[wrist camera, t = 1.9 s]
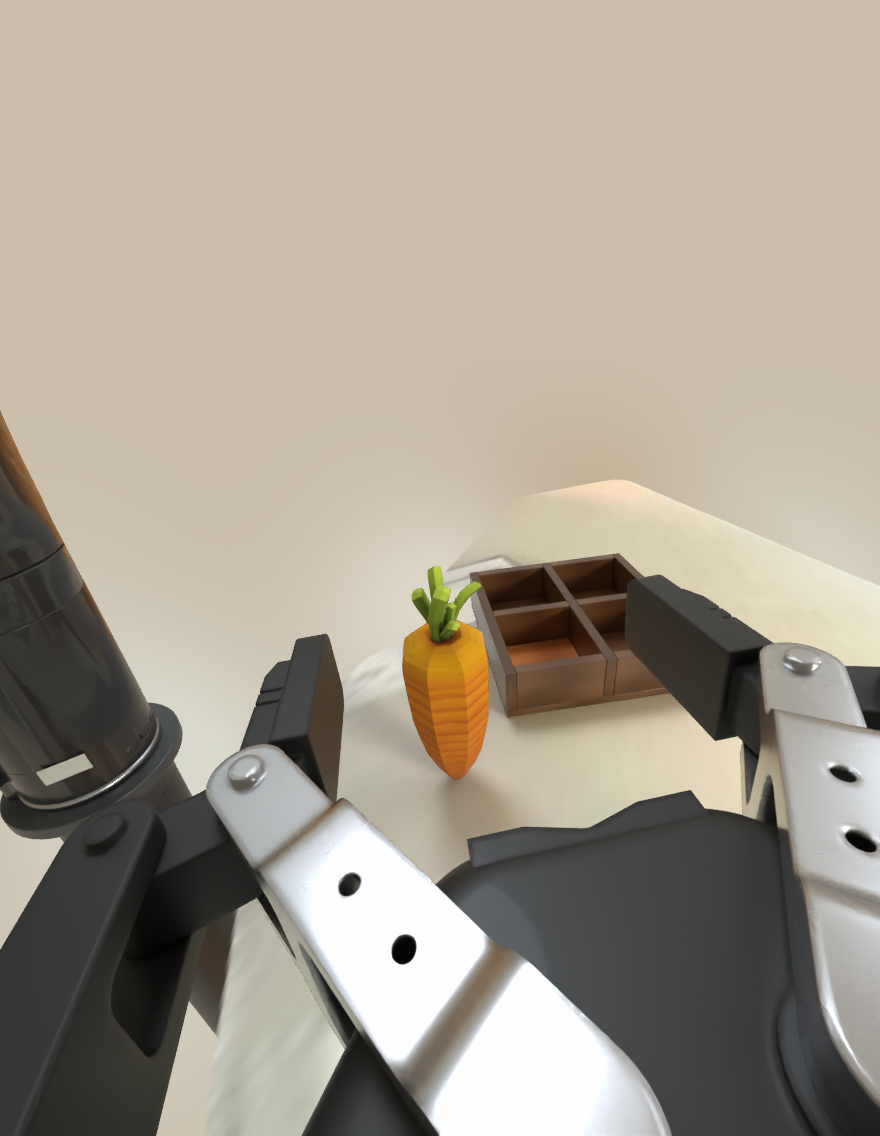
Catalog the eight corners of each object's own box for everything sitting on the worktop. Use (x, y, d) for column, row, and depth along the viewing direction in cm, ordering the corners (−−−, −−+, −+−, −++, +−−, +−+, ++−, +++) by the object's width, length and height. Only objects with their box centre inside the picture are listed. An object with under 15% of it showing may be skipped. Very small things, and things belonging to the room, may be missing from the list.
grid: (506, 717, 34) (505, 674, 32) (471, 607, 47) (469, 572, 45) (706, 687, 34) (716, 644, 33) (615, 587, 48) (619, 552, 46)
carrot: (435, 738, 33) (411, 550, 26) (504, 754, 31) (496, 557, 24) (407, 799, 29) (368, 595, 22) (483, 822, 27) (468, 608, 20)
